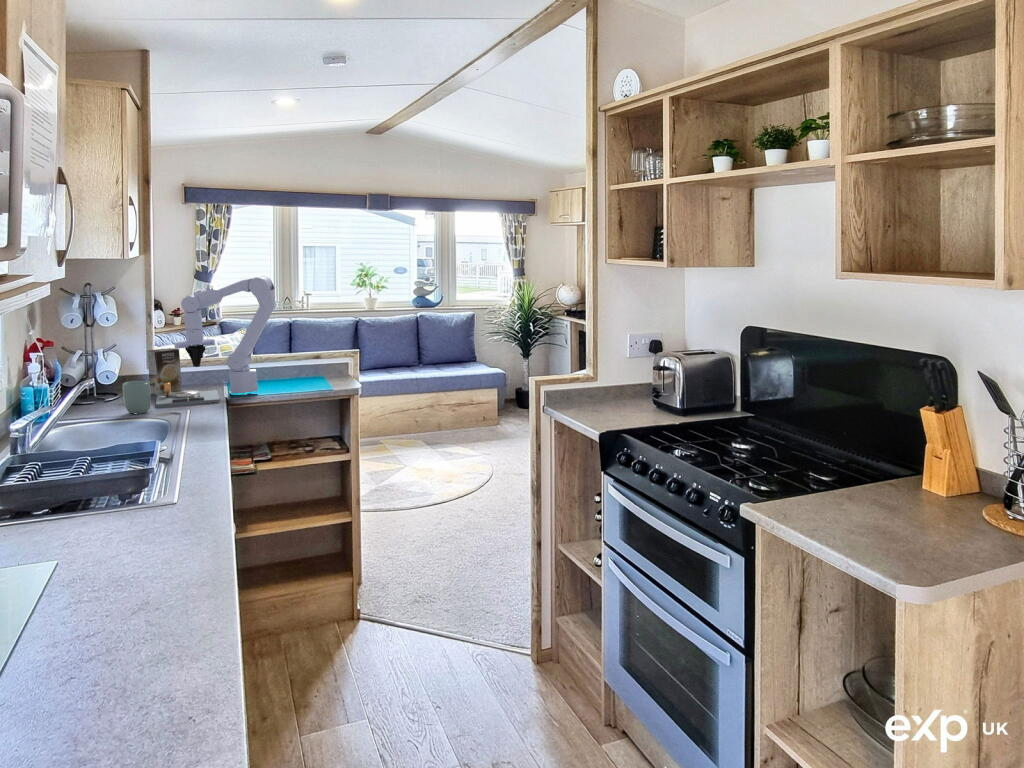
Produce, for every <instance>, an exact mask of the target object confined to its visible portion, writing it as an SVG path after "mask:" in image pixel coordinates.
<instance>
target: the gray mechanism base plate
mask: <svg viewBox="0 0 1024 768" xmlns="http://www.w3.org/2000/svg"><path fill="white" fill-rule="evenodd" d="M199 391H200V390H199ZM211 402H220V403H221V399H220V396H219V392H218V389H214V390H213V389H212V390H201V391H200V396H198V395H194V397H192V398H176V397H175V396H165V394H157V395H156V401H155V408H156V409H158V408H159V409H160V408H170V407H182V406H195V405H196V406H197V405H206V404H205V403H209V404H212V403H211Z"/></svg>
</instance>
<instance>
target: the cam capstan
mask: <svg viewBox="0 0 1024 768" xmlns="http://www.w3.org/2000/svg"><path fill="white" fill-rule="evenodd" d="M164 387H165V396H175V397H176V398H192V397H194V395H198V396H200V390H182V391H181V392H171V384H170V383H164Z"/></svg>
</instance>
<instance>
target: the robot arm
mask: <svg viewBox="0 0 1024 768" xmlns="http://www.w3.org/2000/svg"><path fill="white" fill-rule="evenodd" d="M275 291H276V287H275V285H274V283H273V281H272V279H271V278H270V277H268V276H266V275H263V276H259V277H257V276H256V277H253V278H248V279H242V280H240V281H239V280H238V281H236V282H234V283H232V284H229V285H226V286H224V287H222V288H217V287H211V286H209V287H206V288H205V290H202V291H200V292H198V291H196V292H193V295H187V296H185V297H183V298H182V299H181V301H180V302H181V303H180V305H181V308H182V310H183V311H184V317H183V318H184V329H185V341H180V342H174V349H179V350H180V349H185V351H186V353H187V354H188V356H189V357H190V360H191V363H192V367H196V368H199V367H201V363H202V362H201V361H202V357H203V355H204V353H205V351H206V346H215V345H216V341H215V339H213V338H212V339H204V331H203V329H204V328H203V317H202V309H205V308H208V307H211V306H214V305H217V304H220V303H221V302H222V300H223V298H225V297H228V296H231V295H234V294H237V293H240V292H246V293H251V294H252V295H253V296H254V298H256V300H257V302H258V304H259V307H258V308H257V310H256V312H255V313H254V316H253V317H252V320H251V321H250V323H249V325H248V327H247V329H246V331H245V333H244V335H243V336H242V337H241V338H242V339H241V340H240V342H239V344H238V345H237V346H236V348H235V349H234V351H233V352H232V353H231V354H228V356H227V359H226V365H227V367H228V370H229V375H228V376H229V385H230V391H228V393H229V392H230V393H235V394H236V393H245V392H253V391H258V389H259V384H258V374H257V370H256V369H255V368H253V369H252V368H251V367H250V364H251V362H252V354H253V352H254V347H255V345H256V343H257V342H258V340H259V339H260V336H261V334H262V333H263V331H264V329H265V326H266V325H267V323H268V321H269V319H270V318H271V316H272V314H273V312H274V309H275V307H276V296H275V295H276V293H275ZM258 392H259V391H258ZM230 393H229V394H230Z"/></svg>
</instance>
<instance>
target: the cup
mask: <svg viewBox="0 0 1024 768" xmlns="http://www.w3.org/2000/svg"><path fill="white" fill-rule="evenodd" d="M121 388H122V396H123V397H122V398H123V402H124V407H125V409H126V411H127V412H128V413H130V414H131V413H143V412H146V413H147V412H148V411H149V410H150V409H151V404H152V394H151V392H150V381H149V380H132V381H126V382H125V381H124V382H123V383H122V387H121ZM143 414H144V413H143Z"/></svg>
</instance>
